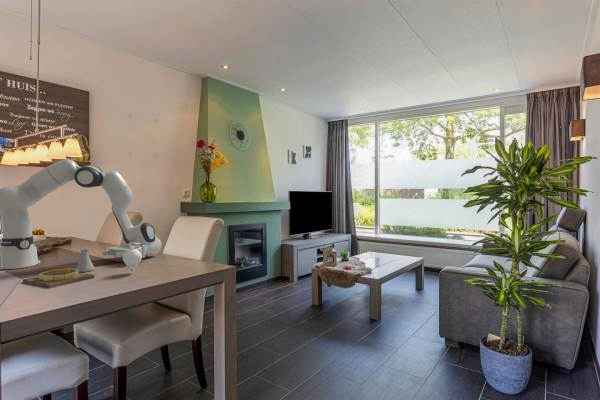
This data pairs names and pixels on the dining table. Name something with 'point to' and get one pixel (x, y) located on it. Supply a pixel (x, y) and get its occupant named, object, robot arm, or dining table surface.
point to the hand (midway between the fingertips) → (109, 254)
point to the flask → (85, 262)
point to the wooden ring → (67, 275)
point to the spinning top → (132, 258)
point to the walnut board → (57, 283)
